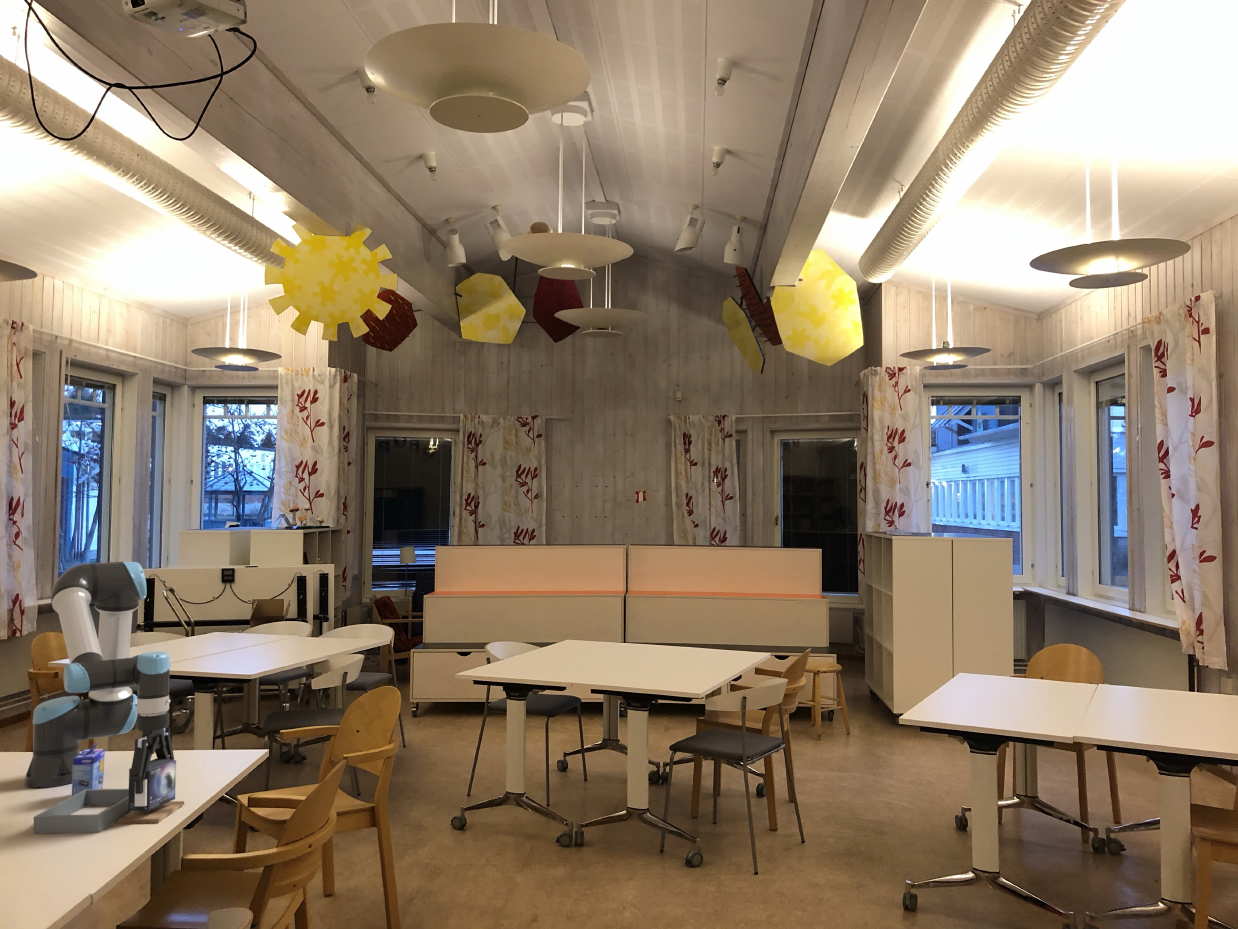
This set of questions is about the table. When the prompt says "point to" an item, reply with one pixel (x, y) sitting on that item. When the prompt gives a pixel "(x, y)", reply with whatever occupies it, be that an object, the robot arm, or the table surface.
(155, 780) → the small box
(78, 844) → the table surface
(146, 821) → the board
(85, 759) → the ink cartridge box
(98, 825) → the bin
